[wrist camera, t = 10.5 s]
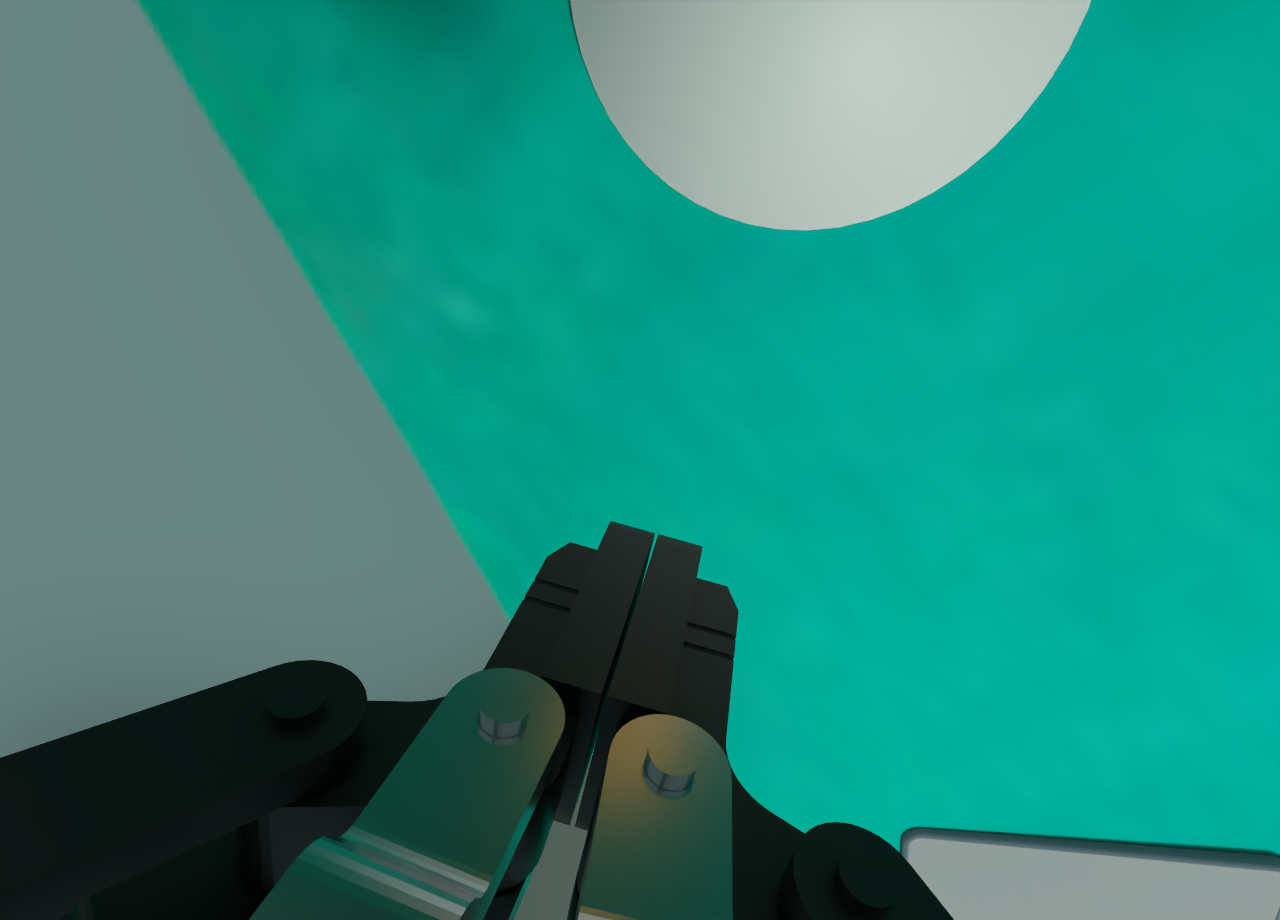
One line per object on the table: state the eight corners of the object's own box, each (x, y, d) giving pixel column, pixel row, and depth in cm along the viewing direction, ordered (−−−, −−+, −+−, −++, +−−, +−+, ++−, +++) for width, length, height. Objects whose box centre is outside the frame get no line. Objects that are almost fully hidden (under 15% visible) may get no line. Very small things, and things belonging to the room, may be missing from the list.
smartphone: (902, 832, 31) (1303, 869, 28) (900, 812, 32) (1288, 846, 28) (897, 948, 34) (1255, 995, 31) (895, 928, 35) (1242, 971, 32)
